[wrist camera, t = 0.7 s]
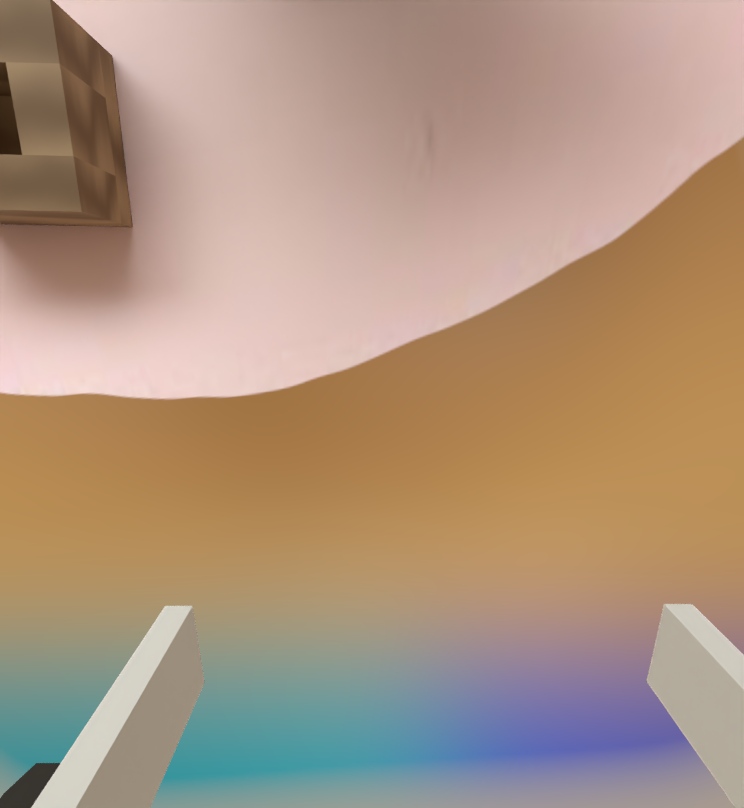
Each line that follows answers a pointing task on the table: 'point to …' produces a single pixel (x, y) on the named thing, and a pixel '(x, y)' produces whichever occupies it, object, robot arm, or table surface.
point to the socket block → (58, 122)
